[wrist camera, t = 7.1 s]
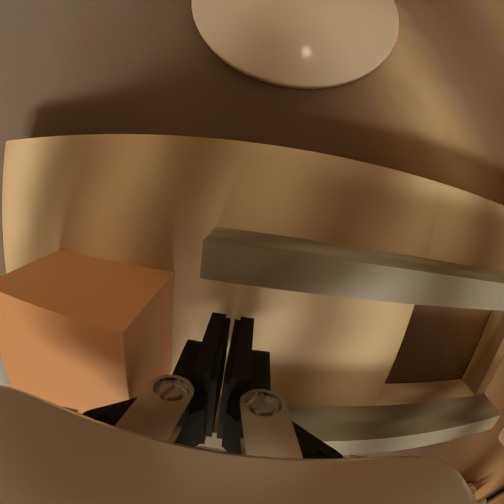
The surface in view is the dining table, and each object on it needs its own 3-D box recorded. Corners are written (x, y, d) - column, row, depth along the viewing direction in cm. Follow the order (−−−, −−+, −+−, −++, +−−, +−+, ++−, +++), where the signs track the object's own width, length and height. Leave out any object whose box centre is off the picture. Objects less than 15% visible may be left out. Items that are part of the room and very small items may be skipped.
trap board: (524, 217, 12) (573, 232, 8) (444, 422, 16) (466, 461, 12) (29, 142, 12) (-27, 140, 8) (48, 376, 16) (16, 411, 12)
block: (174, 272, 12) (122, 332, 7) (171, 370, 13) (137, 446, 8) (58, 249, 12) (-16, 285, 7) (67, 340, 13) (14, 393, 8)
